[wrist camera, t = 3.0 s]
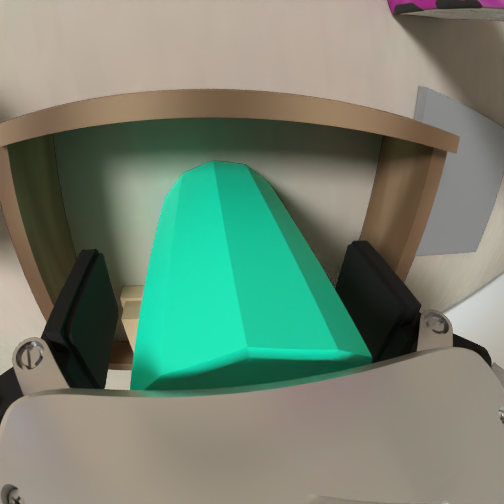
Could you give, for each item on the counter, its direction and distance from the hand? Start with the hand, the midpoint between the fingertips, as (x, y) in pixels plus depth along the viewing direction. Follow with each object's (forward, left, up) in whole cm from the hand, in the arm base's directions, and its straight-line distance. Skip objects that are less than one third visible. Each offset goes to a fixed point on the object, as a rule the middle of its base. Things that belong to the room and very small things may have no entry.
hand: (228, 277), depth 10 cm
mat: (-16, -3, -5) cm, 17 cm away
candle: (0, 0, -5) cm, 5 cm away
